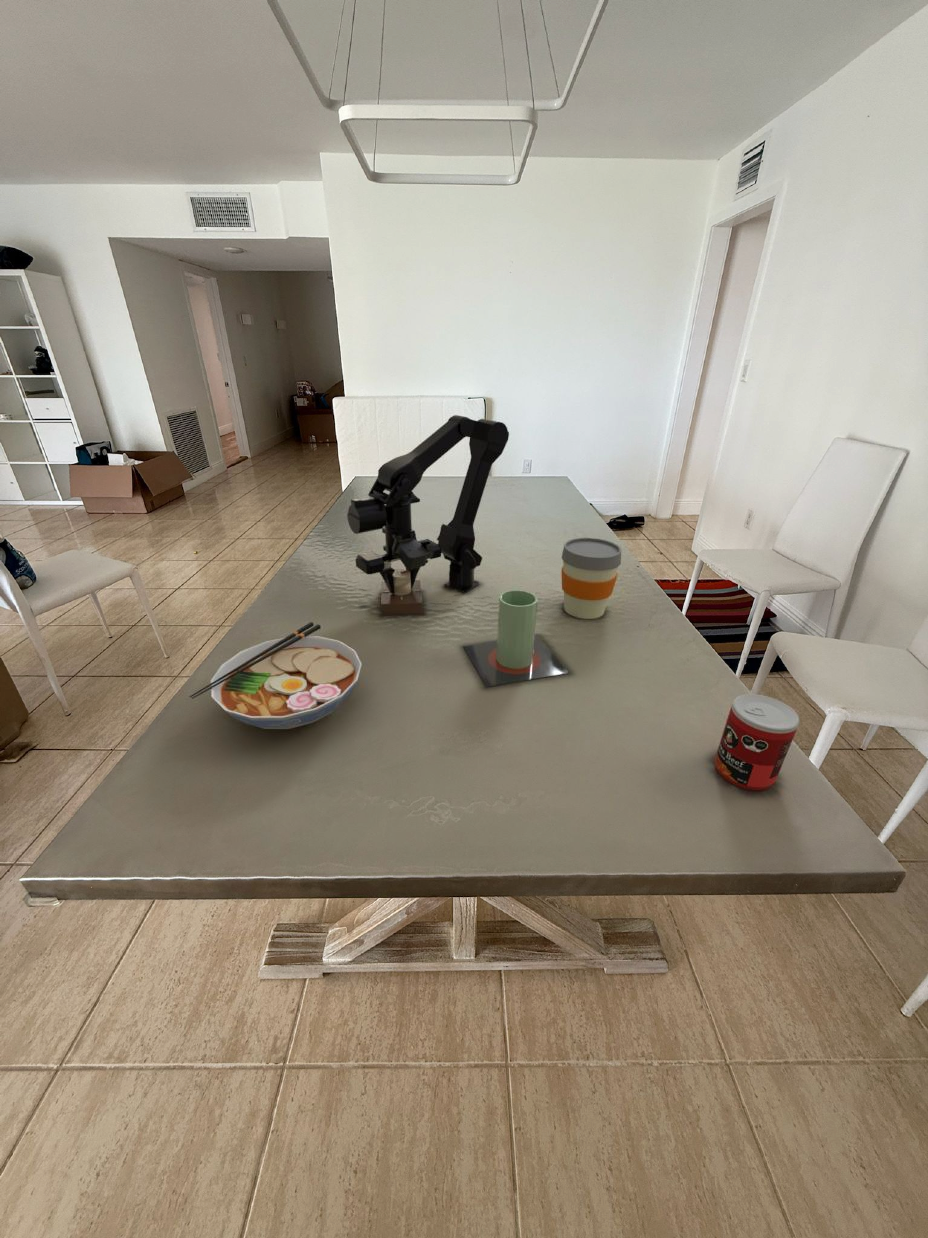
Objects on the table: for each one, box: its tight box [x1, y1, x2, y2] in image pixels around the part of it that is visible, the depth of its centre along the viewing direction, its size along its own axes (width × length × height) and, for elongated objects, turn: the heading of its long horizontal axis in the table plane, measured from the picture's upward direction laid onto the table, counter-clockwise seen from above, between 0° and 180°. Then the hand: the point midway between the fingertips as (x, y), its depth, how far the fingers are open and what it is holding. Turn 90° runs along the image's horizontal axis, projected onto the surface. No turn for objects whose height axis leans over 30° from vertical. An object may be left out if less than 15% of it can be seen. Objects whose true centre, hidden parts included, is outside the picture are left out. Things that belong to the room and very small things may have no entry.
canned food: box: [714, 693, 800, 791], centre depth 72 cm, size 8×8×11 cm
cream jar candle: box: [393, 569, 411, 595], centre depth 117 cm, size 4×4×5 cm
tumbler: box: [496, 589, 539, 669], centre depth 96 cm, size 7×7×13 cm
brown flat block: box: [380, 579, 424, 617], centre depth 119 cm, size 12×9×3 cm
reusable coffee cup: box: [560, 537, 622, 620], centre depth 115 cm, size 13×13×15 cm
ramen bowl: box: [189, 621, 363, 730], centre depth 84 cm, size 25×23×8 cm
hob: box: [463, 635, 570, 688], centre depth 99 cm, size 14×16×1 cm
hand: (401, 590), depth 118 cm, fingers closed on cream jar candle, 4 cm apart
